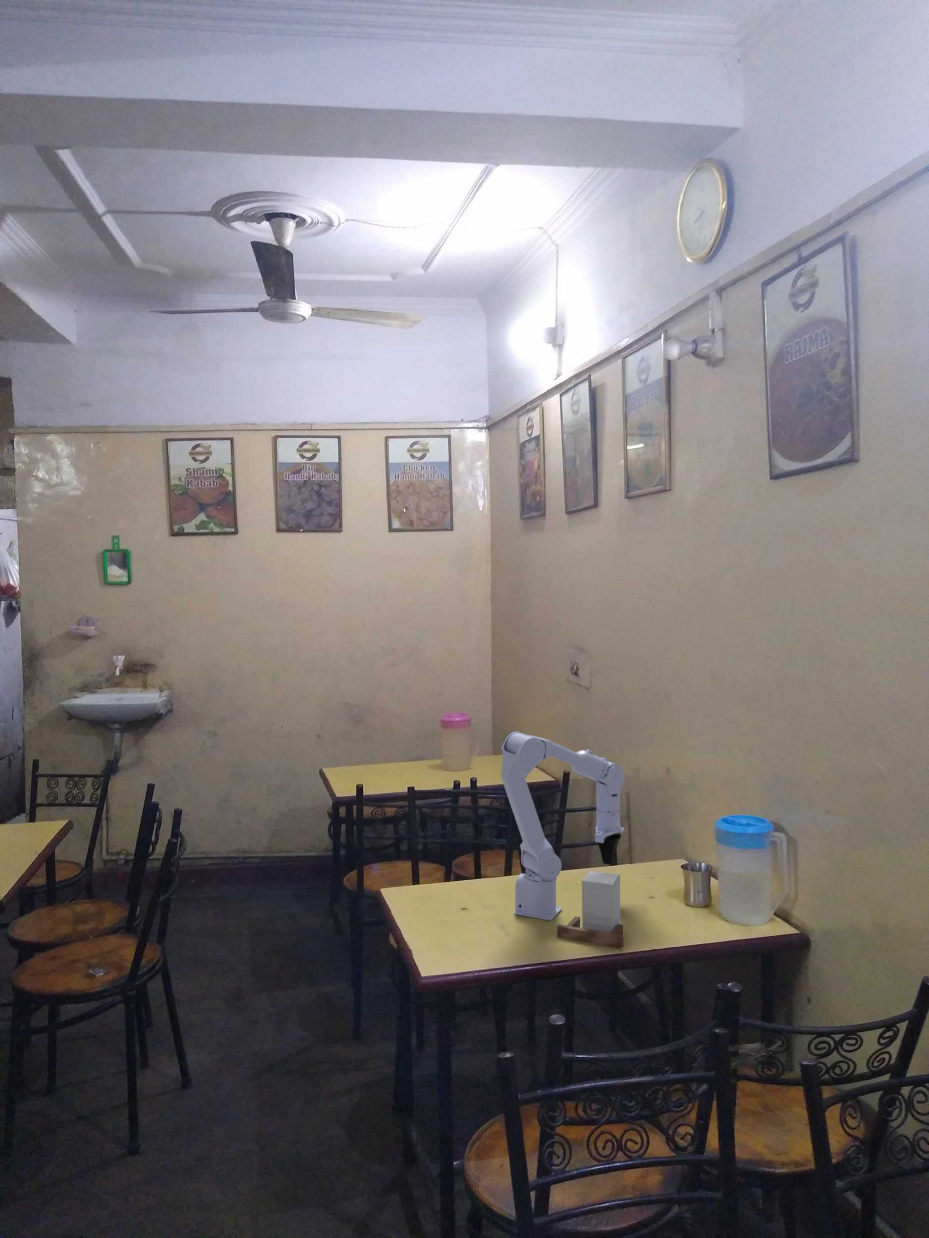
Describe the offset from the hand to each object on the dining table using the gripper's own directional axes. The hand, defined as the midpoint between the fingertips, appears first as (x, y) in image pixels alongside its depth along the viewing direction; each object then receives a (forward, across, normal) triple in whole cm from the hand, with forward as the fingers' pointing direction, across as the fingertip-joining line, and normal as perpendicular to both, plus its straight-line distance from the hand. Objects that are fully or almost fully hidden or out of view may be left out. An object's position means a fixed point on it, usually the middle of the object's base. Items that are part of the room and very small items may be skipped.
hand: (607, 863), depth 224 cm
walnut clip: (+9, -23, -4) cm, 25 cm away
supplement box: (+10, -19, -4) cm, 22 cm away
